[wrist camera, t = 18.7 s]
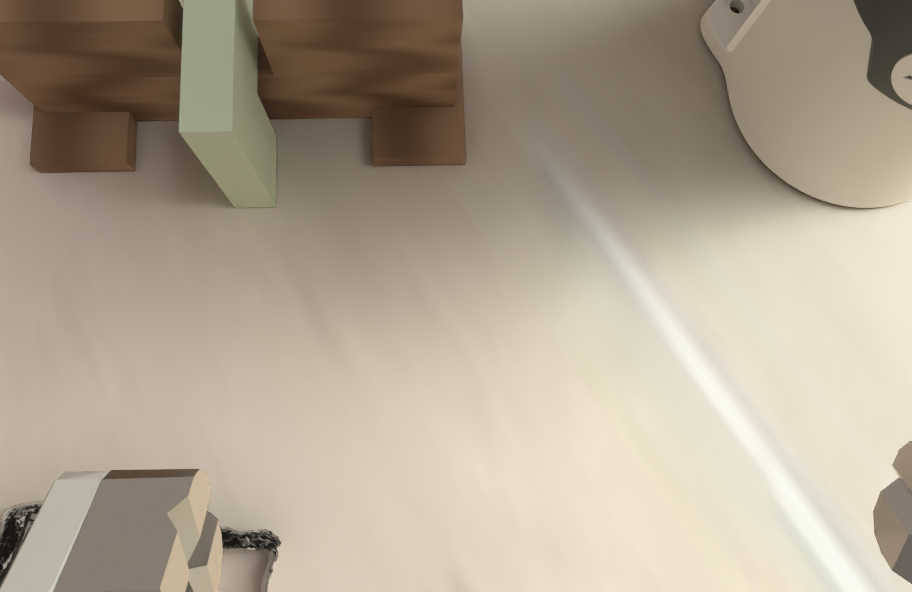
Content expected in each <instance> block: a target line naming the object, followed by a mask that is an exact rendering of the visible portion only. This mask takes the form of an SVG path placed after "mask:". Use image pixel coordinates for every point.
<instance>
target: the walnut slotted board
mask: <svg viewBox="0 0 912 592" xmlns="http://www.w3.org/2000/svg"><path fill="white" fill-rule="evenodd" d="M253 22H254V25H255V27H256V30H257V33H258V81H257V94H258V96H259V98H260V100H261V103H262V105H263V107H264V109H265V111H266V114H267V116H268V118H269V119H304V118H366V117H372V130H373V161H374V166H415V165H465V158H466V151H465V127H464V103H463V80H462V56H461V33H462V22H463V9H462V0H253ZM182 30H183V8H182V6H181V4H180V2H179V0H0V74H1V75H2V76H3V77H4V78H5V79H6V80H8V81H9V82H10V83H11V84H12V85H13V86H14V87H15V88H16V89H17V90H19V91H20V92H21V93H22V94H23V95H24V96H25V97H26V98H27V99H28V100H29V101H31V102H32V103H33V104H34V114H33V127H32V140H31V152H30V165H31V166H32V167H34V168H35V169H36V170H38V171H39V172H40V173H50V172H102V171H135V153H136V133H137V121H179V110H180V83H181V56H182Z"/></svg>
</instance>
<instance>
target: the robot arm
mask: <svg viewBox="0 0 912 592" xmlns="http://www.w3.org/2000/svg"><path fill="white" fill-rule="evenodd" d="M730 7H734V8H736V9H737V10H738V11H739V13H734V12H733V11H732V10H731V9H730ZM700 29H701V33H702V36H703V38H704V40H705V42H706V43H707V45H708V47H709V48H710V50H711V52H712V53H713V55H714V56H715V58H716V59H717V60H718V62H719V63H720V65H721V66H722V69H723V72H724V75H725V79H726V84H727V89H728V95H729V100H730V104H731V108H732V111H733V114H734V117H735V119H736V122H737V124H738V126H739V128H740V130H741V132H742V134H743V136H744V138H745V139H746V141H747V143H748V144H749V146H750V147H751V148H752V150H753V151H754V152H755V154H756V155H757V156H758V157H759V158H760V160H761V161H762V162H763V163H764V164H765V165H766V166H767V167H768V168H769V169H770V170H771V171H772V172H774V173H775V174H776V175H777V176H779V177H780V178H781V179H782V180H784V181H785V182H787V183H788V184H790V185H791V186H793V187H794V188H796V189H798V190H800V191H802V192H803V193H806V194H808V195H810V196H812V197H815V198H817V199H820V200H822V201H826V202H829V203H833V204H837V205H841V206H847V207H857V208H876V207H885V206H890V205H895V204H899V203H902V202H905V201H908V200H911V199H912V0H715V1H714V3H713V4H712V5H711V6H710V7H709V9H708V10H707V11H706V12H705V14H704V15H703V17H702V19H701V22H700ZM893 467H894V469H895V471H896V473H897V475H898V477H899V478H898V479H897V480H895V481H894V482H893V483H891V484H890V485H889V486H887V487H886V488H885V489H883V490H882V491H881V492H880V495H879V497H878V500H877V503H876V506H875V508H874V511H873V516H874V532H875V537H876V539H877V542H878V545H879V548H880V551H881V553H882V555H883V556H884V558H885V560H886V561H887V563H888V565H889V566H890V568H891V569H892V571H894V572H895V573H897V574H898V575H900V576H901V577H902V578H904V579H905V580H907V581H908V582H910V583H911V584H912V441H910V442H908V443H907V444H906V445H904V446H903V447H902V448H901V449H899V451H898V454H897V456H896V458H895V460H894V462H893ZM211 493H212V491H211V488H210V484H209V481H208V477H207V474H206V471H203V470H201V469H164V470H111V471H84V472H65V473H64V474H62V475H61V476H60V477H59V478H58V479H57V480H56V481H55V482H54V483H53V485H52V487H51V489H50V491H49V492H48V494H47V496H46V498H45V500H44V502H43V504H42V506H41V508H40V510H39V512H38V514H37V516H36V518H35V520H34V522H33V524H32V526H31V528H30V530H29V532H28V534H27V536H26V538H25V540H24V542H23V544H22V546H21V548H20V550H19V552H18V554H17V556H16V558H15V560H14V562H13V564H12V566H11V568H10V570H9V572H8V574H7V576H6V578H5V580H4V582H3V583H2V585H1V587H0V592H218V591H219V586H220V581H221V572H222V559H223V547H222V534H221V530H220V525H219V521H218V519H217V518H216V517H215V516H213V515H212V514H211V513H210V512H208V511H207V508H208V505H209V501H210V497H211Z"/></svg>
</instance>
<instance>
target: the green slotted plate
mask: <svg viewBox="0 0 912 592" xmlns="http://www.w3.org/2000/svg"><path fill="white" fill-rule="evenodd" d="M257 81H258V33H257V30H256V27H255V25H254V22H253V0H184V3H183V30H182V56H181V83H180V110H179V133H180V135H181V136H182V137H183V139H184V140H185V141H186V143H187V144H188V145H189V147H190V148H191V149H192V151H193V152H194V153H195V155H196V156H197V158H198V159H199V160H200V162H201V163H202V164H203V166H204V167H205V168H206V170H207V171H208V172H209V174H210V175H211V176H212V178H213V179H214V180H215V182H216V183H217V184H218V186H219V187H220V188H221V190H222V191H223V192H224V194H225V195H226V196H227V198H228V199H229V200H230V202H231V203H232V205H233V206H234V207H235V208H252V207H276V154H277V136H276V134H275V131H274V129H273V127H272V125H271V123H270V120H269V118H268V116H267V114H266V111H265V109H264V107H263V105H262V103H261V100H260V98H259V96H258V94H257Z"/></svg>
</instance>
